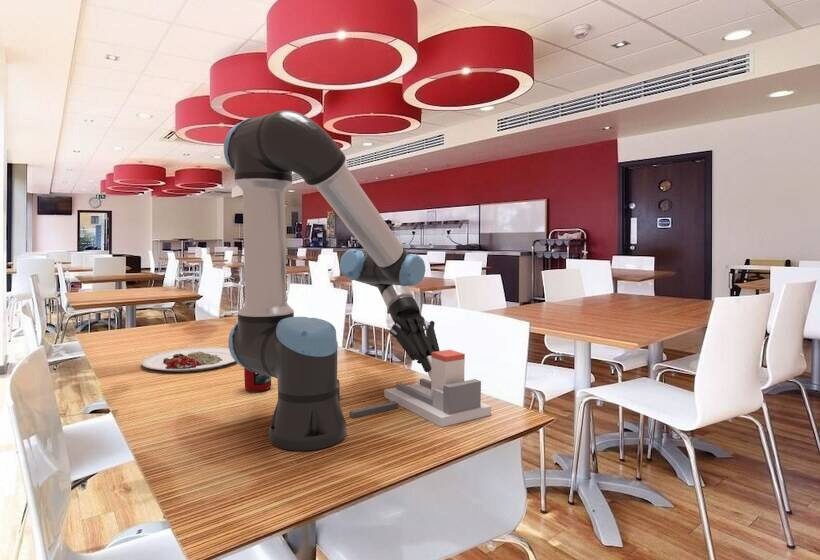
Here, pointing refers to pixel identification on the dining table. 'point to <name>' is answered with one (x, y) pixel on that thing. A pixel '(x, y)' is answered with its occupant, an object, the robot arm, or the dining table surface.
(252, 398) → the dining table surface
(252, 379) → the beverage can
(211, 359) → the plated food
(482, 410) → the gray railed slide base
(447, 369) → the toggle
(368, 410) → the gray rectangular bar
